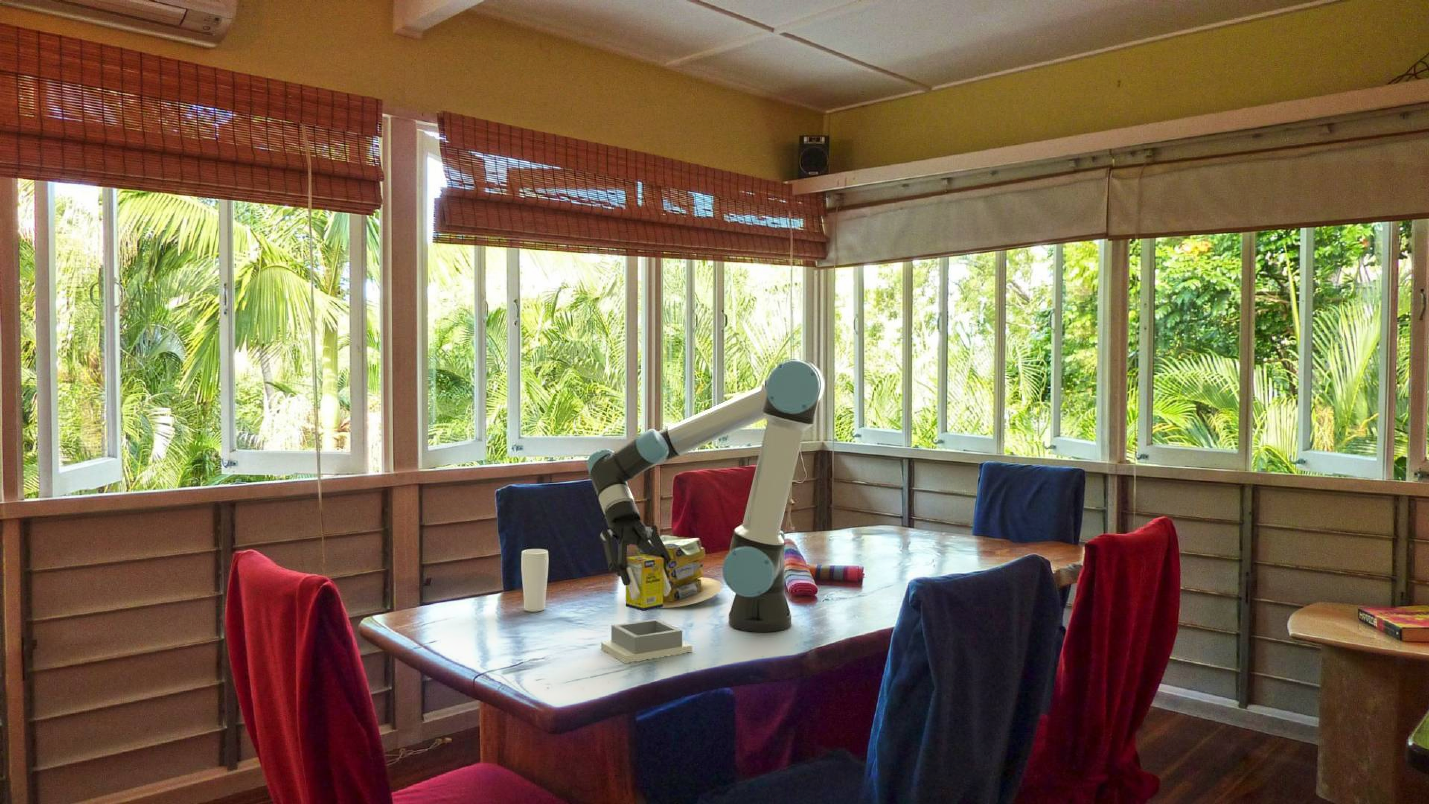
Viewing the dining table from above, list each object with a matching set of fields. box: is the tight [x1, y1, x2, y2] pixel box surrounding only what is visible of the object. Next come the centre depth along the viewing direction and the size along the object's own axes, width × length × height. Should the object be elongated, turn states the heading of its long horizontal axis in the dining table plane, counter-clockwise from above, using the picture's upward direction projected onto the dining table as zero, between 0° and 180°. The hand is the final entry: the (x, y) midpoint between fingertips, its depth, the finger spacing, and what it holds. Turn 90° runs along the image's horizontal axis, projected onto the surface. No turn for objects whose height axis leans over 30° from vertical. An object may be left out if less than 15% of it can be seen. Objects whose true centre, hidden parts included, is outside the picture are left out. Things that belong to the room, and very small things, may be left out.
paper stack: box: [636, 534, 723, 609], centre depth 256 cm, size 25×25×17 cm
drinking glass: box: [520, 548, 549, 613], centre depth 242 cm, size 7×7×15 cm
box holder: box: [600, 618, 693, 664], centre depth 208 cm, size 16×12×5 cm
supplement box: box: [625, 554, 664, 612], centre depth 207 cm, size 6×6×11 cm
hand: (652, 594), depth 204 cm, fingers closed on supplement box, 7 cm apart
